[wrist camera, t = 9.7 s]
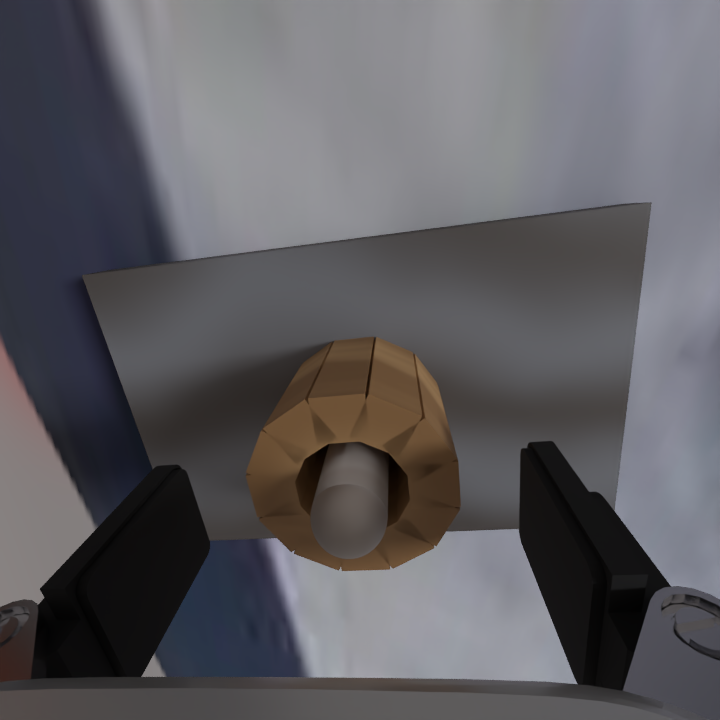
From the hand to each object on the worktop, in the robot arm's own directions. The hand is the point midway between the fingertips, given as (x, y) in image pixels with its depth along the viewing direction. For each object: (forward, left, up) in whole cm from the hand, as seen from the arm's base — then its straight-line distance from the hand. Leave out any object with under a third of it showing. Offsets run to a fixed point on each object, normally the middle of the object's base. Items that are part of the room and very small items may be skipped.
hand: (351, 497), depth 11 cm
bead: (0, 0, -5) cm, 5 cm away
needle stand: (0, 0, -7) cm, 7 cm away
